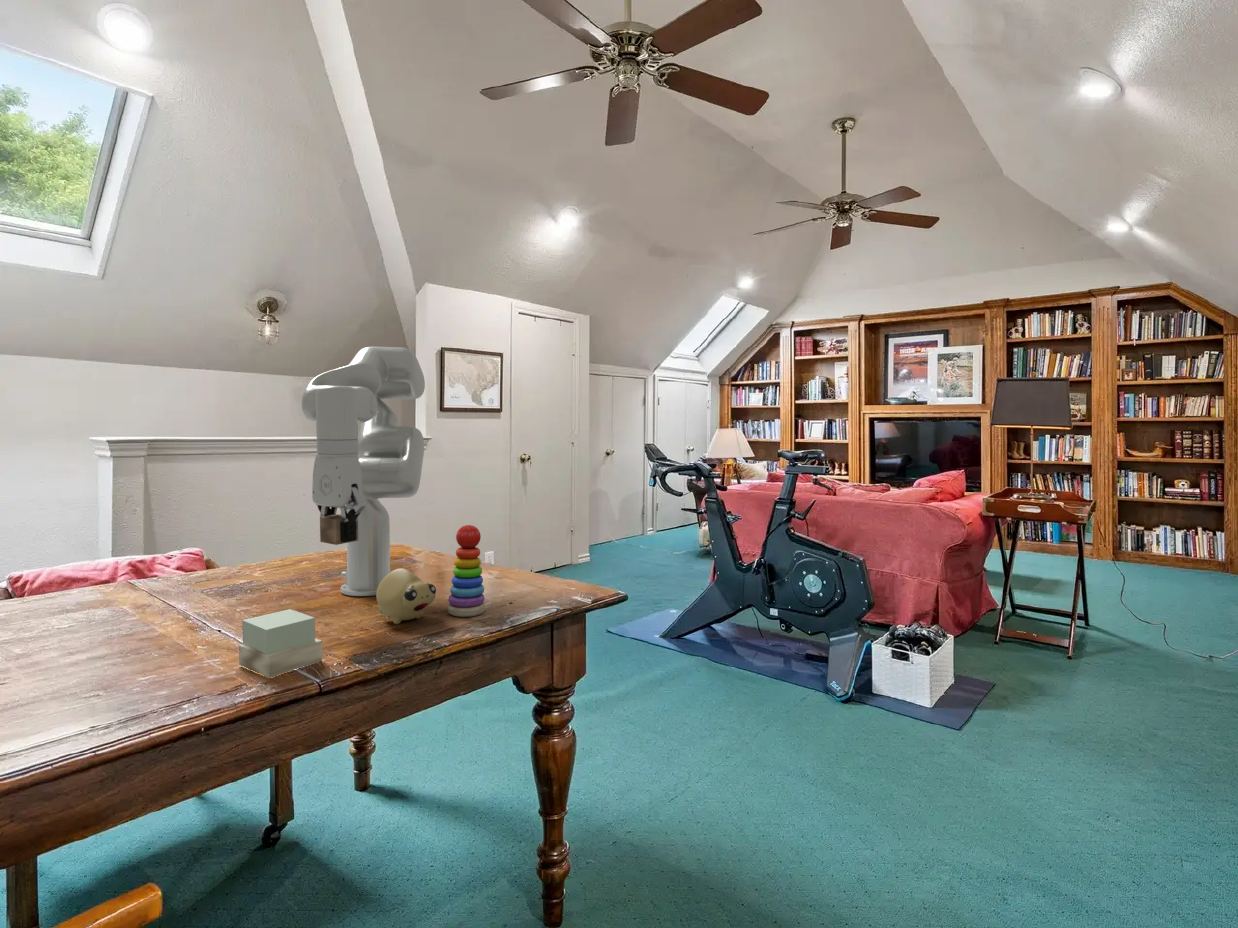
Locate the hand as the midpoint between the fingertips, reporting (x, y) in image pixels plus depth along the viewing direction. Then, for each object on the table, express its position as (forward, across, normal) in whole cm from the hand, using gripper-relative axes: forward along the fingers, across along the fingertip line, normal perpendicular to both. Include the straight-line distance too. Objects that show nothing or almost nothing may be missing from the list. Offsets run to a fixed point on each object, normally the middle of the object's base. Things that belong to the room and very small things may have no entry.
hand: (339, 538), depth 130 cm
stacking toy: (+17, +16, +19) cm, 30 cm away
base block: (+17, +11, -19) cm, 28 cm away
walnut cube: (+1, 0, 0) cm, 1 cm away
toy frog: (+17, +10, +8) cm, 21 cm away
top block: (+13, +11, -19) cm, 26 cm away
